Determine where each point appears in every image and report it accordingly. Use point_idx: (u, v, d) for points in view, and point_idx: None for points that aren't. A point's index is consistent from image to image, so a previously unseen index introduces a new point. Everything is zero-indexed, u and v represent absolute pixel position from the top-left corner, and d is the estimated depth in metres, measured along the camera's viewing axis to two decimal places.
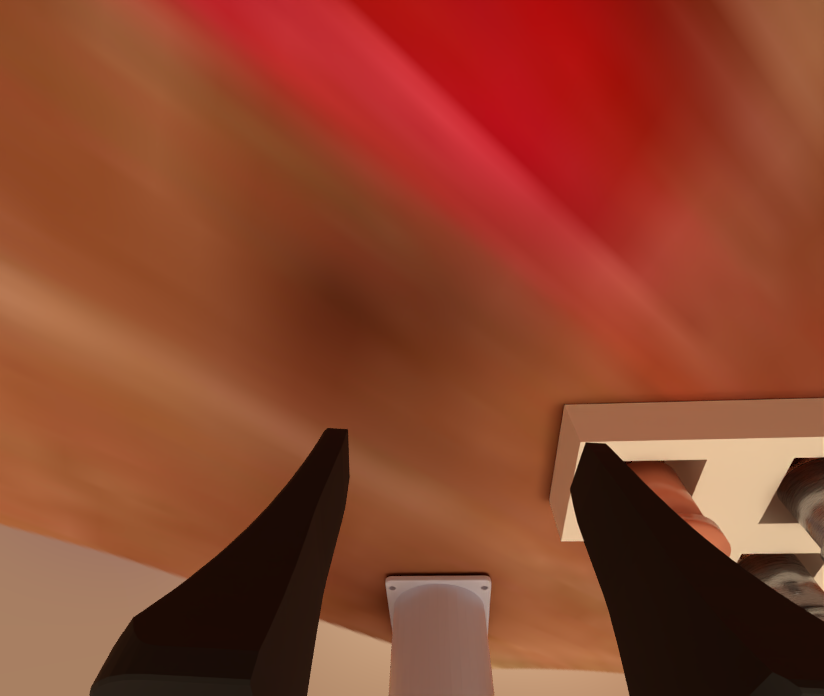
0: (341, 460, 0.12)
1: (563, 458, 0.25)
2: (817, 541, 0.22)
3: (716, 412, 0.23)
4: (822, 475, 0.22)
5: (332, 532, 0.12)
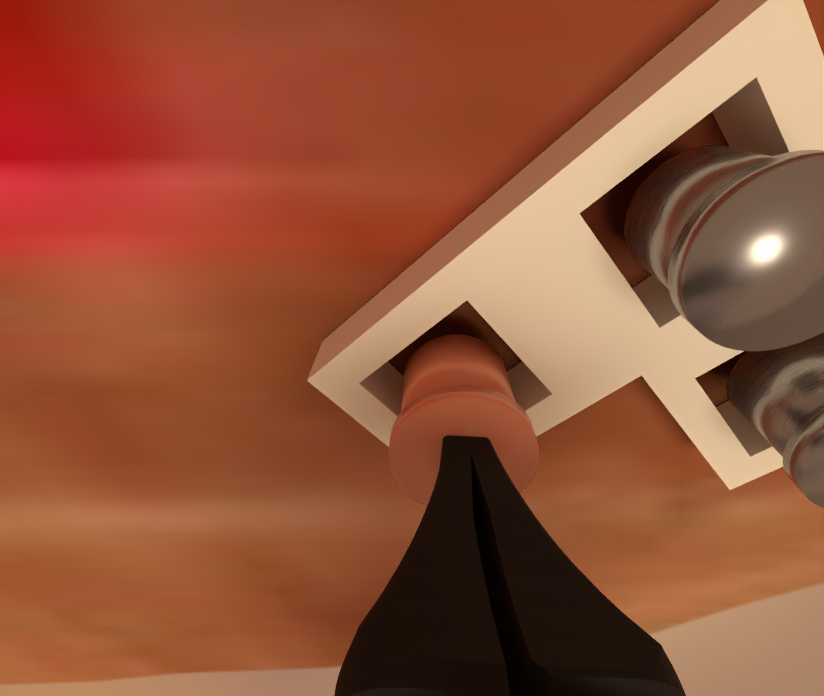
0: None
1: None
2: None
3: (463, 229, 0.16)
4: (645, 206, 0.13)
5: None
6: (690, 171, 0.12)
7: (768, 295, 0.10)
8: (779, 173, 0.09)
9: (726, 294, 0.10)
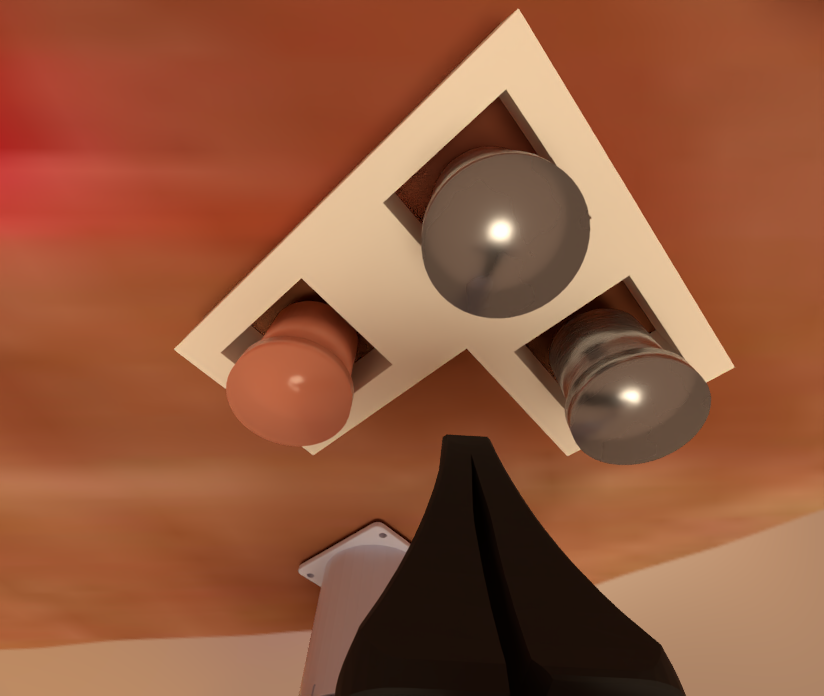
0: None
1: None
2: None
3: (306, 216, 0.18)
4: None
5: None
6: (456, 167, 0.14)
7: (493, 270, 0.13)
8: (473, 168, 0.11)
9: (460, 268, 0.13)
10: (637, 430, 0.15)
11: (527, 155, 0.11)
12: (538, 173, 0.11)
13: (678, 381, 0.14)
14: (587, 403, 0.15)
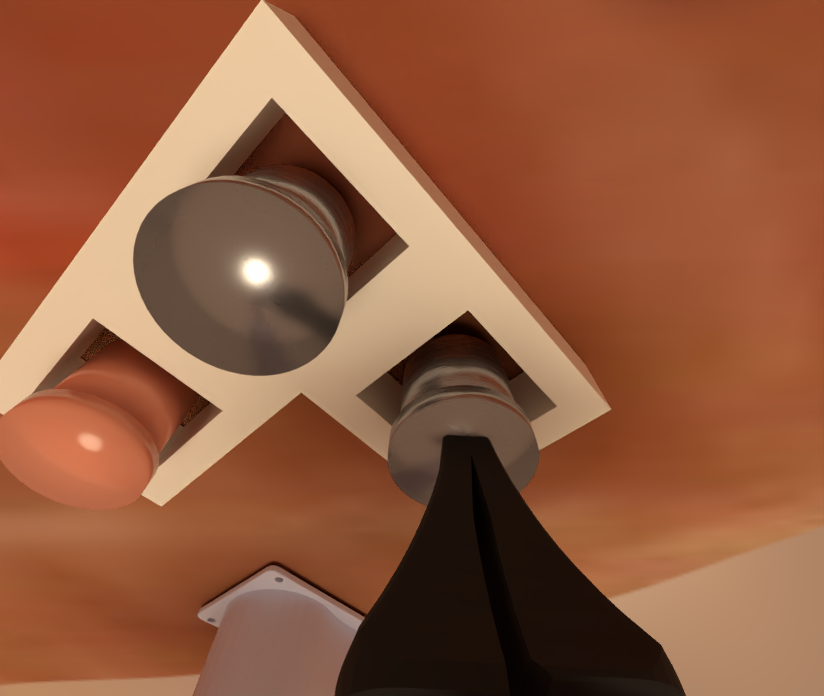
0: None
1: None
2: None
3: None
4: None
5: None
6: None
7: (237, 321, 0.10)
8: (172, 200, 0.09)
9: (196, 320, 0.10)
10: None
11: (233, 184, 0.09)
12: (251, 206, 0.09)
13: (494, 424, 0.13)
14: (400, 447, 0.13)
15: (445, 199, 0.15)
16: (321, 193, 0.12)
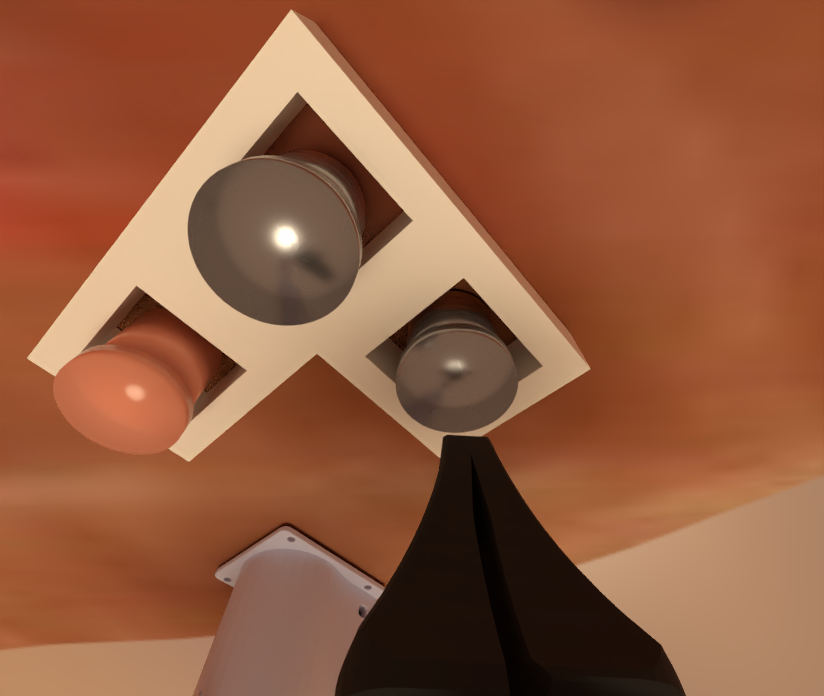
0: None
1: None
2: None
3: None
4: None
5: None
6: None
7: (271, 277, 0.12)
8: (222, 174, 0.11)
9: (237, 276, 0.12)
10: (458, 399, 0.17)
11: (272, 160, 0.11)
12: (286, 178, 0.11)
13: (482, 353, 0.16)
14: (406, 374, 0.16)
15: (444, 181, 0.17)
16: (338, 173, 0.14)
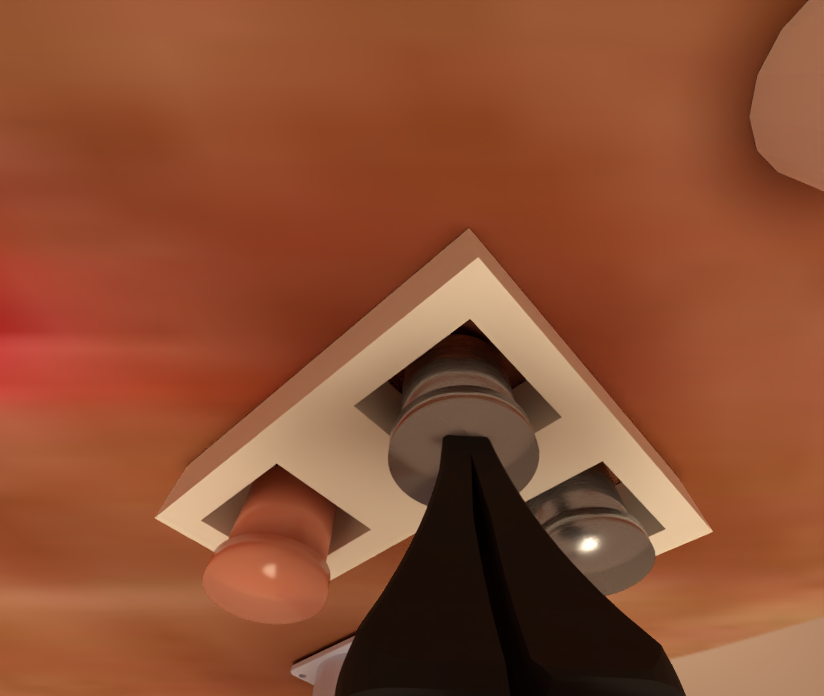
0: None
1: None
2: None
3: (282, 394, 0.18)
4: (403, 382, 0.16)
5: None
6: (422, 367, 0.15)
7: None
8: (430, 409, 0.13)
9: (424, 477, 0.14)
10: (591, 573, 0.17)
11: (478, 401, 0.12)
12: (489, 414, 0.12)
13: (624, 540, 0.16)
14: None
15: (577, 359, 0.17)
16: (498, 366, 0.15)
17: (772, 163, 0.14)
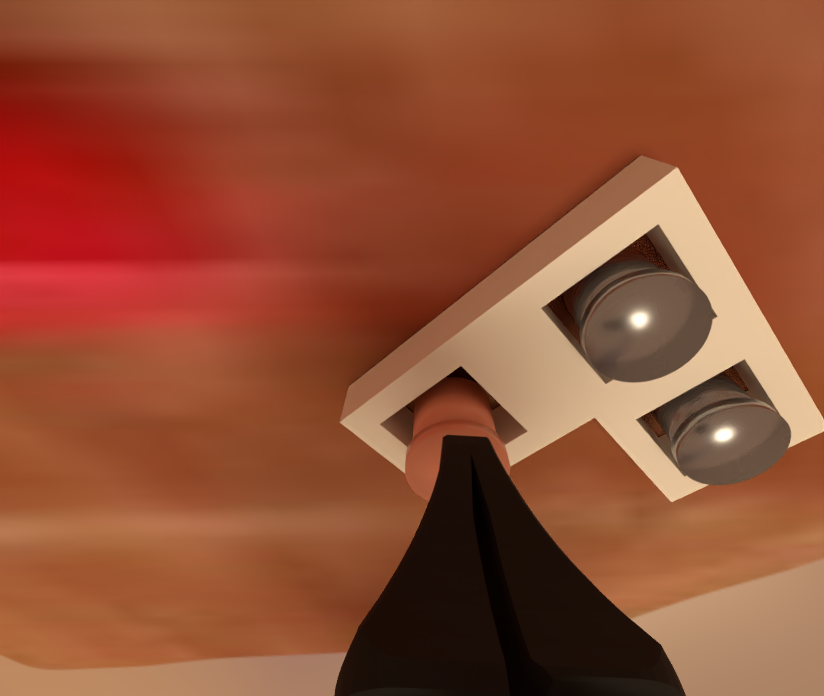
0: None
1: None
2: None
3: (458, 310, 0.21)
4: None
5: None
6: (597, 268, 0.18)
7: (637, 350, 0.17)
8: (632, 285, 0.16)
9: (612, 349, 0.17)
10: (731, 459, 0.20)
11: (672, 276, 0.16)
12: (679, 288, 0.16)
13: (767, 423, 0.19)
14: (694, 440, 0.19)
15: None
16: None
17: None
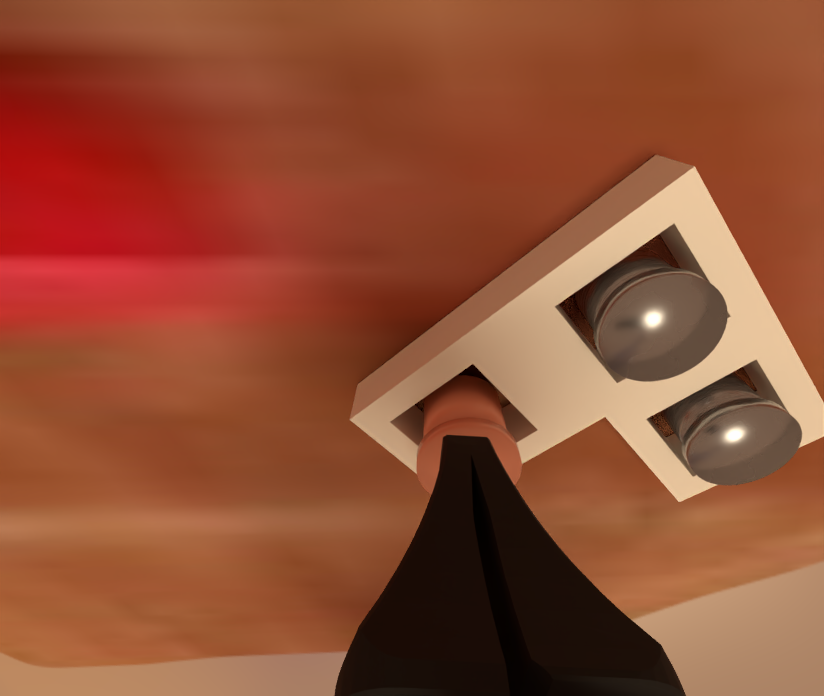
0: None
1: None
2: None
3: (470, 308, 0.21)
4: None
5: None
6: None
7: (651, 349, 0.17)
8: (648, 284, 0.16)
9: (626, 348, 0.17)
10: (741, 459, 0.20)
11: (688, 275, 0.16)
12: (695, 287, 0.16)
13: (778, 424, 0.19)
14: (705, 440, 0.19)
15: None
16: None
17: None
